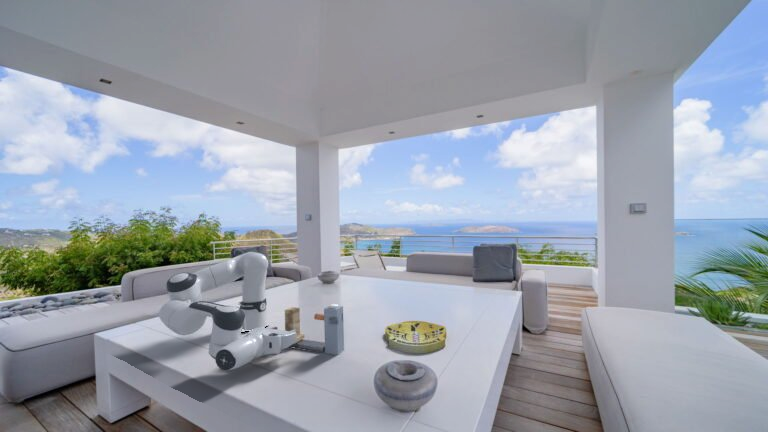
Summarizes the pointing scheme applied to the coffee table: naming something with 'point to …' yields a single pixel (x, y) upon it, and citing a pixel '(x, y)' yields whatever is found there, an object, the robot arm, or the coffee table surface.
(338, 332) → the blue-grey post
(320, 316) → the reddish-brown cylinder
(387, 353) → the coffee table surface
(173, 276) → the robot arm
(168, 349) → the coffee table surface
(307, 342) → the rail
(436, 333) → the yellow printed disc
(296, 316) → the beige post on base
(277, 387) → the coffee table surface
